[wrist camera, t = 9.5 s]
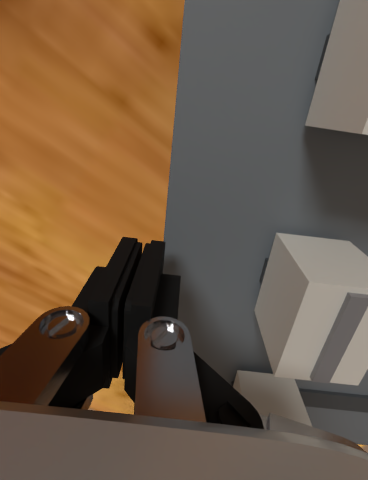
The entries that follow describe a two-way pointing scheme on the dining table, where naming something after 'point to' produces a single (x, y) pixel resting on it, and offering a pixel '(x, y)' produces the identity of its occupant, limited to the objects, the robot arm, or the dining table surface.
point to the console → (257, 181)
